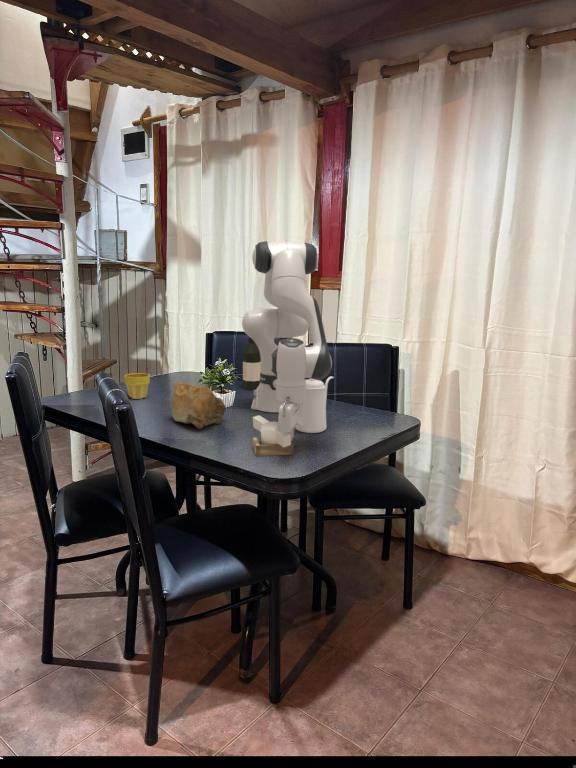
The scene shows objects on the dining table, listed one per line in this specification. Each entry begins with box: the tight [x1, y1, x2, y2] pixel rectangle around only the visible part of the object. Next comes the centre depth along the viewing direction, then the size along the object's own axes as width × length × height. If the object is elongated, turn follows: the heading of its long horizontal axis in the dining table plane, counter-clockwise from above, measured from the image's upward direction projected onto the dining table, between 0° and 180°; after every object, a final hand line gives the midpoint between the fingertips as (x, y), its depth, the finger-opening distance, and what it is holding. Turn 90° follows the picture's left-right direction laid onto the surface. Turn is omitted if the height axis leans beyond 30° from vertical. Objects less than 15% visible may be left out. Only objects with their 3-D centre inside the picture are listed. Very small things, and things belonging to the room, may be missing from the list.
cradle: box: [252, 437, 295, 457], centre depth 175 cm, size 9×11×3 cm
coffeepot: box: [295, 375, 335, 434], centre depth 197 cm, size 11×25×19 cm, turn 141°
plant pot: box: [123, 372, 151, 398], centre depth 239 cm, size 10×10×10 cm
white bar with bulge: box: [252, 415, 292, 447], centre depth 176 cm, size 8×17×7 cm, turn 34°
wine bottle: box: [242, 335, 261, 391], centre depth 259 cm, size 8×8×30 cm
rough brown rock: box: [171, 381, 227, 430], centre depth 203 cm, size 23×17×15 cm
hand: (290, 439), depth 172 cm, fingers closed
